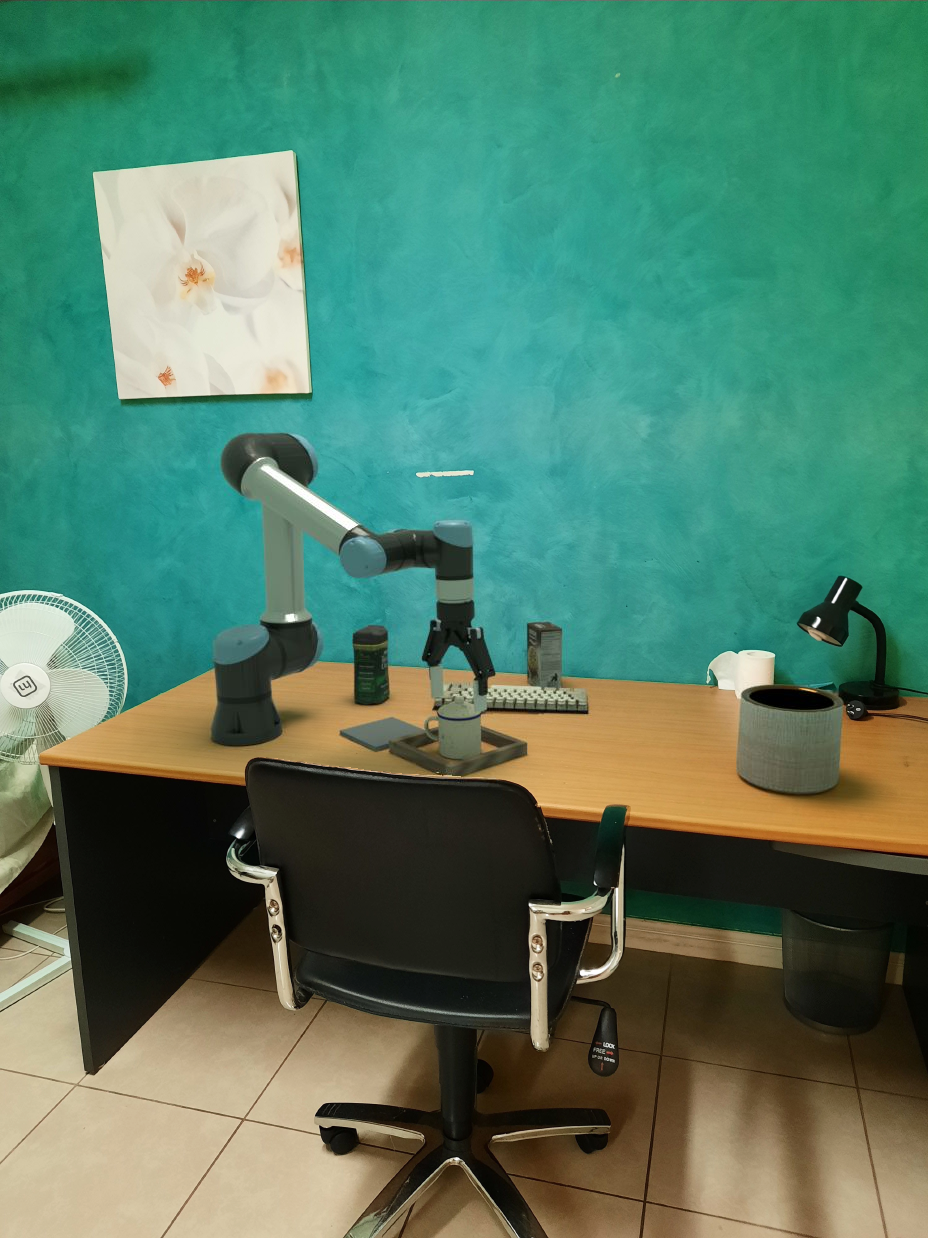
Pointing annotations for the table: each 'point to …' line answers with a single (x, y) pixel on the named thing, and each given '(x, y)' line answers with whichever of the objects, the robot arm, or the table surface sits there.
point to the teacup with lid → (457, 729)
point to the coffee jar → (371, 664)
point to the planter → (789, 738)
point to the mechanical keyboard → (519, 699)
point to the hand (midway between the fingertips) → (458, 703)
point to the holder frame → (506, 752)
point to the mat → (379, 732)
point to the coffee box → (544, 655)
